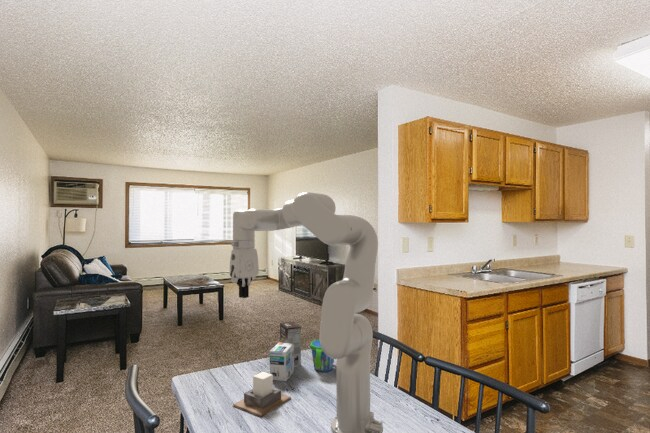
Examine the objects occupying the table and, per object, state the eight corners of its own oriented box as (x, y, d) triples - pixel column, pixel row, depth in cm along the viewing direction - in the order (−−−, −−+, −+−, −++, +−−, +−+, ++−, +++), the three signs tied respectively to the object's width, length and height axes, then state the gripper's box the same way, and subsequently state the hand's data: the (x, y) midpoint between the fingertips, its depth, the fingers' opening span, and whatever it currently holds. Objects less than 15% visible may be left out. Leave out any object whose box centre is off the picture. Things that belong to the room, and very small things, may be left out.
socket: (290, 398, 120) (290, 388, 120) (261, 417, 108) (261, 405, 108) (264, 389, 126) (264, 379, 127) (233, 406, 115) (233, 395, 115)
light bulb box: (286, 381, 133) (286, 352, 133) (268, 380, 134) (268, 350, 135) (294, 370, 143) (294, 342, 144) (278, 369, 145) (278, 341, 145)
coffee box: (279, 360, 154) (279, 322, 154) (293, 358, 156) (293, 320, 157) (286, 368, 145) (286, 328, 146) (301, 365, 148) (301, 326, 148)
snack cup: (328, 378, 136) (328, 350, 136) (303, 374, 140) (303, 347, 140) (342, 363, 150) (342, 338, 151) (318, 360, 154) (318, 336, 154)
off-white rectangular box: (272, 399, 118) (272, 374, 118) (263, 405, 114) (263, 379, 115) (262, 395, 120) (262, 371, 121) (253, 401, 117) (253, 376, 117)
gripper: (234, 246, 120) (234, 302, 119) (266, 244, 132) (266, 295, 131) (219, 245, 124) (219, 299, 123) (251, 244, 136) (251, 293, 136)
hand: (243, 297), depth 127 cm, fingers closed
